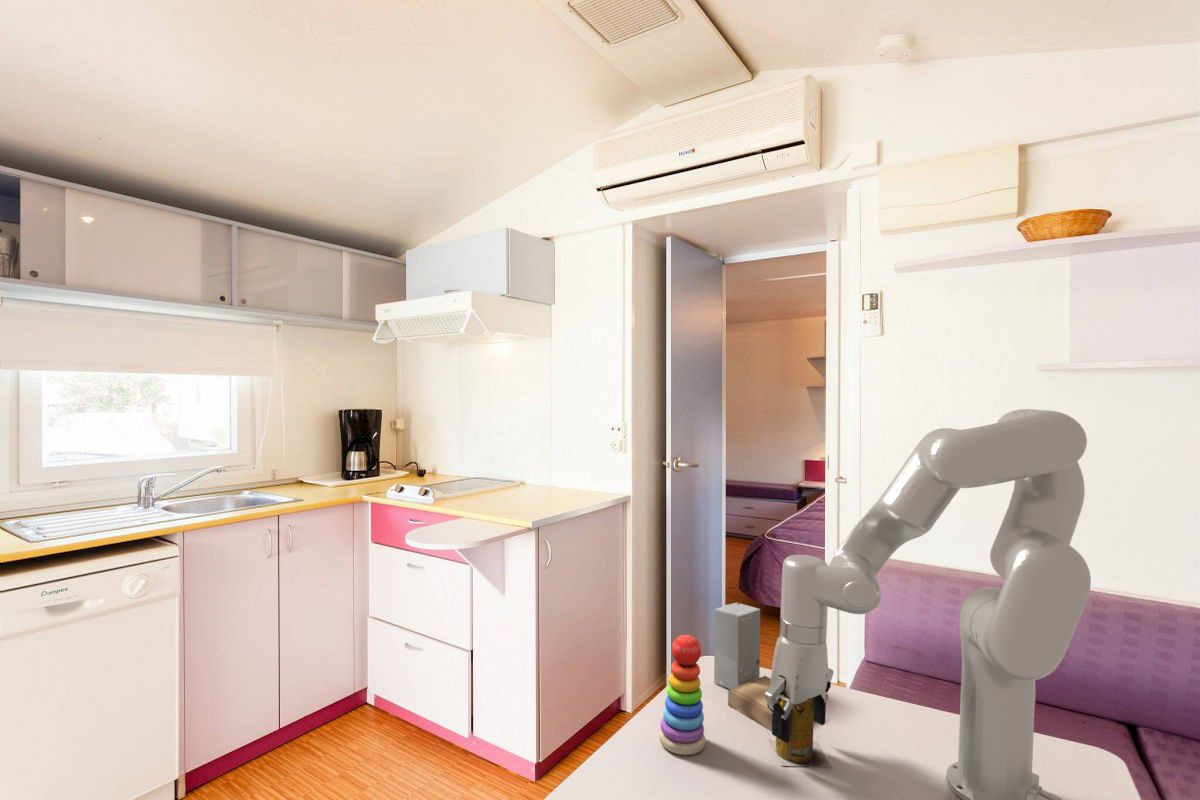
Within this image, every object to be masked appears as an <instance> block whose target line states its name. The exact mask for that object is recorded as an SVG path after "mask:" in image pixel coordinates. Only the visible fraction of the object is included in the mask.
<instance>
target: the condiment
mask: <svg viewBox="0 0 1200 800" xmlns="http://www.w3.org/2000/svg"><path fill="white" fill-rule="evenodd" d="M783 696H785V697H787V698H789V697H788V695H787V693H785V692H784V695H783ZM785 705H786V702H784V701H783V700H782V701H781V703H780V706H781V707H782V708H783V709H784V707H785ZM788 718H790V720H791V722H790V741H789V742H788V743H785V742H784V741H782V740H780V739H779V738H777V737H775V740H774V739H773V740H771V739H768V742H769V744H770V745H771V748H772V750H773V752H774V754H775V756H776V758H777V760H778V762H779V765H780V766H785V767H818V768H820V767H822V768H823V767H833V764H831V762H830V760H829V759H828V758H827V757H826V755H825V753H824V752H823V750H822V748H821V746H820V745H819V743H818V742H817V741H816V740H814V727H815V726H814V722H815V721H814V703H813V701H812V698H809V699H807V700H806V701H804V702H802V703H799V704H796V705H793V707H792V709H791V711H790V714H789V716H788Z"/></svg>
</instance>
